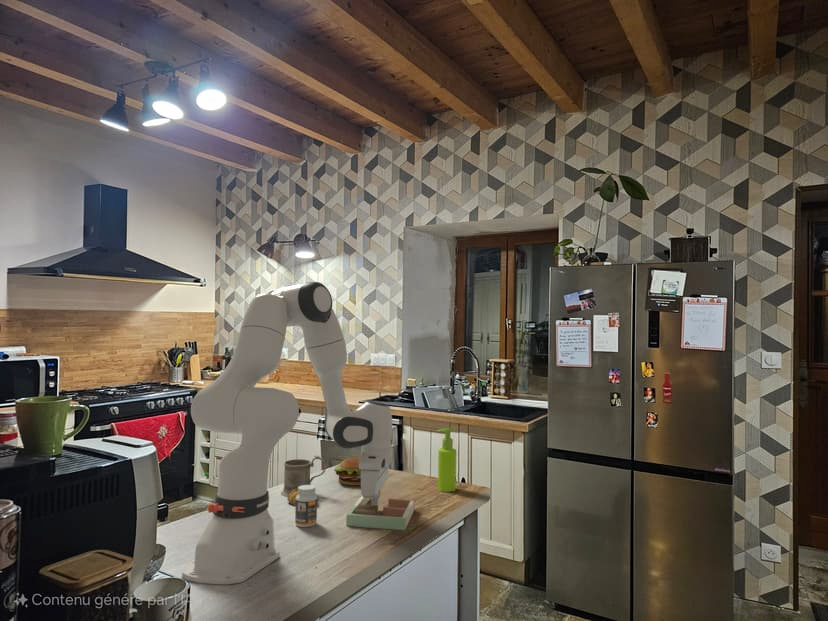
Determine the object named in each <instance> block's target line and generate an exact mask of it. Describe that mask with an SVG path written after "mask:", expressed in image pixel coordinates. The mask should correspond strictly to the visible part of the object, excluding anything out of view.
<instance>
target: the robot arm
mask: <svg viewBox="0 0 828 621" xmlns="http://www.w3.org/2000/svg"><path fill="white" fill-rule="evenodd" d="M332 298H333V296H332V294H331V292H330V291H329V289H328V288H327V287H326V286H325V285H324V283H322V282H319V281H307V282H304V283H298V284H293V285H286V286H283V287H281V288H278V289H276V290H275V289H274V290H271V291H269V292H265V293H260V294H257V295H256V296H254V297H253V299H251V301H250V303H249V305H248V308H247V309H246V312H245V314H244V316H243V320H242V322H241V325H240V330H239V334H238V337H237V341H236V344H235V347H234V351H233V352H232V357H231V359H230V361H229V362H228V364H227V366H226V367H225V369H224V370H223V371H222V372H221V374H220V375H219V376H218V377H217V378H216V379H215V380H214V381H212V382H211V383H210V384H208V385H207V386H205V387H204V388H201V389H200V390H199V391H198V392H197V393H196V394H195V396H194V397H193V399H192V401H191V405H190V415H191V419H192V422H193V424H195V426H196V427H198V428H200V429H203V430H206V431H209V432H212V433H219V434H236V435H238V434H240V435H241V441H240V444H239V446H238V447H236V448H234V449H232V450H230V451H229V452H227V453H226V454H225V455H223V457H221V459H220V461H219V463H218V471H217V472H218V475H217V493H216V495H215V497H214V498H215V499H214V501H213V502H210V503H209V504H208V507H207V511H208V513H211V514H212V516H211V518H210V520H209V521H208V523H207V525H206V527H205V528H204V530H203V532H202V534H201V536H200V538H199V540H198V542H197V543H196V546H195V553H194V557H193V559H192V560H191V561H190V563H188V564H187V565H186V567H185V568H184V569H183V571H182V572H181V573H182V574H181V577H182V578H183V579H185V580H187V581H189V582H190V581H191V582H195V583H199V584H209V585H211V584H212V585H232V584H238V583H239V584H240V583H243V582H245V581H246V580H248V579H250V577H252V576H254V575H255V574H256V573H258V572H259V571H261V570H262V569H264V568H265V567H267V566H268V565H270V564H272V563H273V562H274V561H275V560H277V559H278V558H280V557H281V553H280V551H279V550H278V549H277V548H276V547H275V526H274V518H272V516H271V515H270V513H269V510H268V508H269V506H270V505H269V503H270V502H269V501H270V496H269V494H270V492H269V491H268V474H269V466H270V458H271V455H272V452H273V450H274V448H275V447H276V446H277V443H278V442H279V441H280V440H281V439H282V438H283V437H284V436H285V435H287V434H288V433H289V432H291V431H292V430H293V428H294V427H295V426H296V424H297V422H298V419H299V414H300V408H299V403H298V400H297V398H296V397H295V396H294V394H293V393H292V392H289V391H287V390H284V389H283V390H282V389H278V388H274V387H258V386H257V387H256V385H257V384H258V383H259V382H260V381H261V380H263V379H264V378H266V377H268V376H270V375H272V374H273V373H274V372H276V370H277V369H278V368H279V366H280V362H281V358H282V354H283V349H284V343H285V339H286V333H287V328H289V327H300V329H301V330H302V334H303V340H304V345H305V348H306V352H307V356H308V359H309V361H310V364H311V366H312V368H313V370H314V373H315V375H316V377H317V378H318V380H319V383H320V387H321V391H322V395H323V400H324V405H325V417H324V426H323V428H324V431H325V434H326V435H327V436H328V437H329V438H330V439H331V440H333V441H334V443H336V444H337V445H338V446H339V447H341V448H343V449H354V448H357V447H361V454H360V458H361V459H360V461H359V469H362V470H361V485H360V492H361V496H363V497H364V498H370V500H371V505H378V506H379V503H380V501H381V500H380V499H381V493H382V488H383V487H384V486H385V484H386V483H387V481H388V479H389V474H390V468H389V465H391V464H392V458H393V457H392V452H393V451H392V450H393V446H392V442H391V441H392V440H391V438H392V434H393V415H392V410H391V407H390V406H389V405H388V404H387V403H385V402H381V401H378V400H366V401H365V402H364V403H363V404H362V405H360V406H358V407H357V408H354V409H352V410H351V409H350V407H349V405H348V403H347V399H346V394H345V391H344V390H345V389H344V385H343V380H342V374H343V370H344V368H346V365H347V362H348V355H347V354H348V353H347V352H348V351H347V346H346V340H345V337H344V332H343V331H342V327H341V324H340V322H339V319H338V316H337V315H336V313H335V310H334V309H333V299H332Z"/></svg>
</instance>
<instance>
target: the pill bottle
mask: <svg viewBox="0 0 828 621" xmlns="http://www.w3.org/2000/svg"><path fill="white" fill-rule="evenodd" d="M298 493H299V495H297V497H296V506H295V514H294V516H295V518H294V519H295V520H294V524H295V525H296V526H297V527H300V528H309V527H314V526H315V525H316V524H317V523H318V522H317V519H318V518H317V517H318V516H317V515H318V502H317V500H318V496H317V494H316V486H315V485H313V484H312V485H311V484H310V485H302V486H299V487H298Z"/></svg>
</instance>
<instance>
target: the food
mask: <svg viewBox="0 0 828 621" xmlns="http://www.w3.org/2000/svg"><path fill="white" fill-rule="evenodd" d="M360 459H361V457H357V456H356V457H355V456H354V457H348V458H345V459H344V460H342V461H341V462H340V464H339V465H337V466H336V467H335V468H334V472H335V474H336V476H338V479H337V481H338V483H340V484H342V485H346V486H361V470H362V469H359V461H360Z"/></svg>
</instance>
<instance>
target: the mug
mask: <svg viewBox="0 0 828 621" xmlns="http://www.w3.org/2000/svg"><path fill="white" fill-rule="evenodd" d="M313 457H314V458H312V460H309V459H303V458H301V459H300V458H298V459H297V458H295V459H290V460H289V459H288V460H286V461H284V463H283V465H284V472H283V473H284V474H283V475H284V477H283V478H284V479H283V480H284V481H283V488H282V489H283V490H282V491H280V495H281V496H283V497H287V498H288V496H289V494H290V492H292V491H293V490H294V489H298V487H299V486H302V485H311V483H312V481H314V479H315V478H318V477H320V476H322V475H323V474H324V473H325V472H326V469H327V463H326V461H325V459H324V458H322V457H321V456H320V455H314V456H313ZM315 460H320V461H322V462H323V464H324V467H323V470H322V472H321V473H319V474H316V475H314V476H312V477H311V468H313V467H315V463H314V461H315Z"/></svg>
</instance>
